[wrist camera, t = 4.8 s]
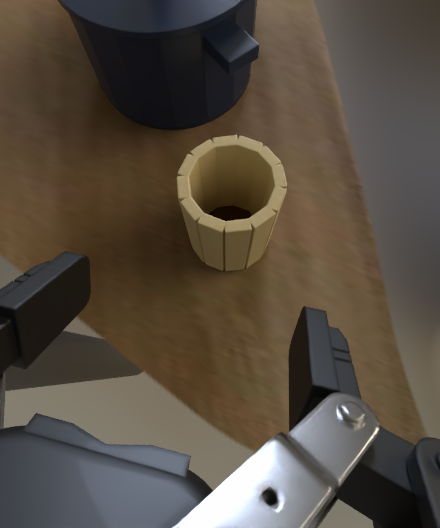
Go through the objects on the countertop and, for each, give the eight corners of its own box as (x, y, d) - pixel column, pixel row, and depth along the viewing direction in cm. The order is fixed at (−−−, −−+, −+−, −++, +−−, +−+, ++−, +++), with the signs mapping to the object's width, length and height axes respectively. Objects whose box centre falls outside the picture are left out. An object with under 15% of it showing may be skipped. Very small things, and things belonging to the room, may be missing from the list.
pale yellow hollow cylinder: (221, 286, 24) (220, 253, 17) (175, 226, 25) (155, 172, 18) (284, 240, 25) (308, 190, 18) (236, 185, 26) (240, 118, 19)
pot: (173, 179, 27) (150, 98, 19) (61, 40, 31) (3, -74, 23) (300, 97, 29) (330, -8, 21) (178, -21, 34) (163, -145, 25)
